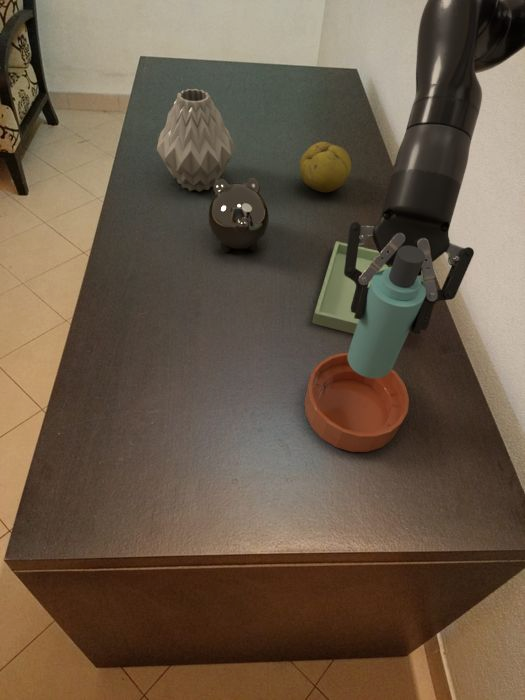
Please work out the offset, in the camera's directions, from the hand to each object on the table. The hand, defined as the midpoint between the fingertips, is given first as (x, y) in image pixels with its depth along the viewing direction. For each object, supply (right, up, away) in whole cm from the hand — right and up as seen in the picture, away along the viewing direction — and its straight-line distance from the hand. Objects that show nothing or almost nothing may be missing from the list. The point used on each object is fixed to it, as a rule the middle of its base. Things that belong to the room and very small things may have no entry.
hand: (386, 325), depth 54 cm
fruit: (-1, +34, +53) cm, 63 cm away
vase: (-29, +35, +52) cm, 69 cm away
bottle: (0, -4, +8) cm, 9 cm away
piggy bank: (-19, +19, +39) cm, 47 cm away
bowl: (-1, -12, +16) cm, 20 cm away
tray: (+4, +7, +32) cm, 33 cm away
